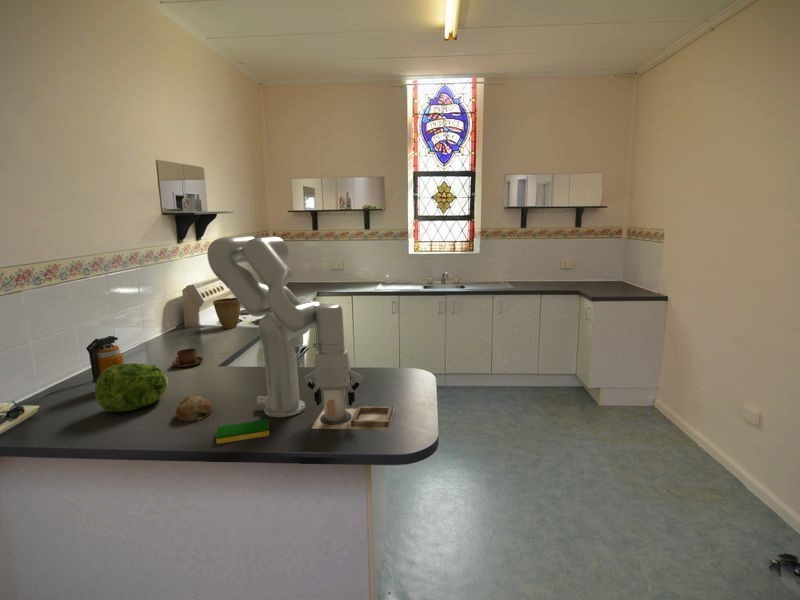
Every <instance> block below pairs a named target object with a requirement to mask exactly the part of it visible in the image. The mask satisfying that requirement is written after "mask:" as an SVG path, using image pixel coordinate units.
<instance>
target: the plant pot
mask: <svg viewBox="0 0 800 600" xmlns="http://www.w3.org/2000/svg"><path fill="white" fill-rule="evenodd" d="M212 304H213V307H214V310H215V313H216V316H217V318H218V321H219V322H220V324H221V326H222V328H223V329H233V328H237V327H236V326H238V323H239V318H240V313H241V306H242V305H241V303H240V302H239V301H238V300H237V298H236V297H226V298H219V299H214V300H213V301H212Z"/></svg>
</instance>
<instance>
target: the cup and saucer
mask: <svg viewBox="0 0 800 600" xmlns="http://www.w3.org/2000/svg"><path fill="white" fill-rule="evenodd" d="M176 354H177V356H176V357H175V360H173V361H172V362H171V364H172V365H173V366H174V367H175V368H176V367H177V368H190V367H193V366H197V365H199V364H200V363H202V362H203V360H204V358H203V357H202V356H198V355H197V349H195V348H185V349H181V350H178V351H177V352H176Z"/></svg>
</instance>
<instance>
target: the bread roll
mask: <svg viewBox="0 0 800 600" xmlns="http://www.w3.org/2000/svg"><path fill="white" fill-rule="evenodd" d="M212 410H213V407H212V403H211V402H210V401H209V400H208V399H206V398H205V397H204V396H201V395H190V396H187V397H186V398H184V399H182V401H181V402H180V403H178V406H177V407H176V409H175V415H176V418H177V420H179V421H182V422H195V421H197V420H198V421H201V420H202V419H204V418H206V417H208V416H210V415H211V413H212ZM209 414H210V415H209Z"/></svg>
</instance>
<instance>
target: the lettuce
mask: <svg viewBox="0 0 800 600" xmlns="http://www.w3.org/2000/svg"><path fill="white" fill-rule="evenodd" d="M168 387H169V378H168V376H167V374H165V372H164V370H163V369H162V368H161V367H159V366H157V365H154V364H149V363H139V362H138V363H137V362H135V363H132V362H131V363H124V364H121V365H114V366H111V367H108V368H107V369H106V370H104V371H103V372H102V373H101V374H100V375H99V377H98V379H97V382H96V383H95V388H94V392H95V393H94V396H95V399H96V402H97V403H98V405H99V406H100V407H101V408H102V409H103V410H105V411H107V412H116V413H118V412H120V413H123V412H124V413H125V412H129V411H133V410H137V409H142V408H145V407H147V406H148V407H149V406H150V405H152V404H154V403H155V402H156V401H157V400H160V398H162V396H163V395H164V393H166V392H167V389H168Z"/></svg>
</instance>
